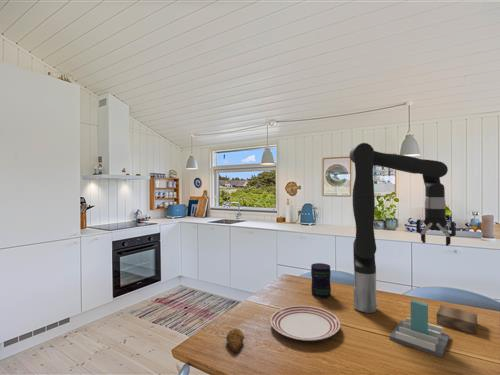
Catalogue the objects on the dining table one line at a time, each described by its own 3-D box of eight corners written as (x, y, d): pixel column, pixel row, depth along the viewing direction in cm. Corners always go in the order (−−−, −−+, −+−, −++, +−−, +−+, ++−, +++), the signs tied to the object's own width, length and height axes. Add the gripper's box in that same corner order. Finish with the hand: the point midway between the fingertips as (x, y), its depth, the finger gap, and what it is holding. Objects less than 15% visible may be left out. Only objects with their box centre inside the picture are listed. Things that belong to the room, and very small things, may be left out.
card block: (410, 334, 100) (410, 301, 100) (412, 331, 102) (412, 299, 102) (426, 339, 97) (426, 305, 97) (428, 336, 99) (427, 303, 98)
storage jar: (310, 290, 146) (310, 262, 146) (329, 291, 145) (328, 263, 145) (312, 298, 136) (311, 268, 136) (332, 298, 135) (331, 269, 135)
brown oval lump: (227, 333, 106) (226, 320, 106) (244, 332, 106) (244, 320, 106) (225, 355, 92) (224, 340, 92) (244, 354, 92) (244, 339, 92)
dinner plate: (262, 340, 101) (261, 331, 101) (279, 308, 126) (279, 301, 126) (339, 354, 91) (339, 344, 91) (341, 316, 117) (341, 309, 117)
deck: (436, 323, 110) (436, 313, 110) (441, 314, 117) (440, 305, 117) (475, 334, 102) (474, 323, 101) (477, 323, 109) (477, 313, 109)
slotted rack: (389, 339, 99) (389, 330, 99) (401, 323, 110) (401, 315, 110) (442, 357, 88) (442, 347, 88) (449, 337, 99) (449, 329, 99)
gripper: (414, 207, 121) (414, 243, 121) (453, 208, 111) (454, 248, 111) (418, 206, 126) (418, 240, 127) (456, 207, 117) (456, 244, 117)
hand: (435, 244), depth 119 cm, fingers open, 8 cm apart
